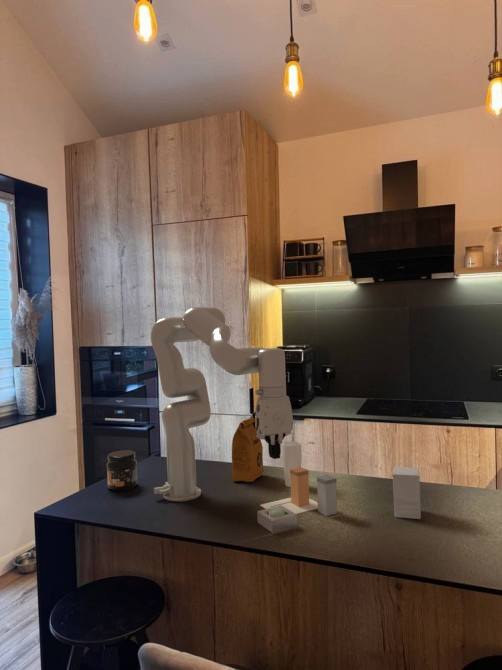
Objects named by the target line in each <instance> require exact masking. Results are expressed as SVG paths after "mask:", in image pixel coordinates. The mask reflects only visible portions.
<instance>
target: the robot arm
mask: <svg viewBox="0 0 502 670" xmlns="http://www.w3.org/2000/svg"><path fill="white" fill-rule="evenodd" d="M231 332H232V331H231V329H230V327H229V326H228V325H227V324H226V316H225V315H224V313H223V311H221V310H220V309H219V308H217V307H210V306H208V307H205V306H204V307H203V306H201V307H200V306H199V307H198V306H196V307H192V308H189V309H188V310H186V311H185V312H184V314H183V317H181V316H179V317H178V316H176V317H175V316H174V317H164V318H160V319H159V320H157V321H156V322H155V323H154V324H153V326H152V328H151V331H150V343H151V346H152V348H153V351H154V354H155V357H156V358H155V359H156V363H157V369H158V373H159V374H158V375H159V379H160V384H161V385H160V386H161V391H162V393H163V395H164V396H165V398H169V399H177V398H183V397H187V399H184V400H179V401H175V402H172V403H169V404H167V405H166V406H165V407H164V408H163V410H162V413H161V418H162V425H163V429H164V434H165V446H166V448H165V449H166V469H167V471H166V473H167V481H165V482H164V484H163V485H162V486H157V487H154V488H153V493H154V495H156V494H159V495H163V498H164V500H167V501H169V502H187V501H191V500H194V499H197V498H199V497H200V496H201V495H202V489H201V488H200V487H197V471H196V469H197V468H196V467H197V466H196V445H195V444H196V442H195V438H194V437H193V435H192V433H191V432H190V429H192V428H196V427H200V426H204V425H206V424H207V423H208V422H209V421H210V419H211V414H212V411H211V403H210V398H209V397H210V396H209V392H208V387H207V381H206V379H205V376H204V374H203V373H202V372H201V371H200V370H199V369H198V368H195V367H194V368H193V367H189V368H185V365H184V361H183V357H182V356H183V355H182V354H181V352H180V350H179V349H178V347H177V346H176V345H175V343H186V342H187V343H189V342H192V343H193V342H197V341H201V342H202V343H203V344H205V345H207V347H209V353H210V355H211V358H212V360H213V361H214V363H216V365H218V366H219V367H220V368H222V369H223V370H224V371H225V372H227V373H229V374H231V375H234V376H242V375H248V374H249V375H250V374H251V375H252V374H258V389H256V390H255V391H254V392H255V393H254V394H255V395H256V396H258V397H257V398H256V405H255V418H254V419H255V422H254V423H255V431H256V433H257V436H256V437H257V438H258V439H260V440H264V441H265V442H266V444H268V455H269V458H271V459H274V460H277V459H280V458H281V454H282V447H281V444H282V443H283V440H284V439H285V438H286V437H287V436H289V435H291V434H292V431H293V429H294V421H293V420H294V419H293V417H294V416H293V409H292V404H291V401H290V400H291V399H290V396H288V395H287V383H286V382H287V381H286V379H287V378H286V375H287V374H286V355H285V351H284V350H283V349H282V348H280V347H278V348H277V347H273V348H272V347H271V348H269V347H268V348H266V347H258V346H255V347H241V348H240V347H239V348H236V347H235V346H233V345H231V343H229V340H230V338H231V334H232V333H231Z"/></svg>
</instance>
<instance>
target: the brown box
mask: <svg viewBox="0 0 502 670" xmlns="http://www.w3.org/2000/svg"><path fill="white" fill-rule="evenodd" d="M290 478H291V487H290V498H291V503H292V504H294V505H296V506H298V507H301V506H305V505H309V498H310V487H309V484H310V483H309V469H306V468H304V467H302V466H301V467H299V468H294V469H290Z"/></svg>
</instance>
